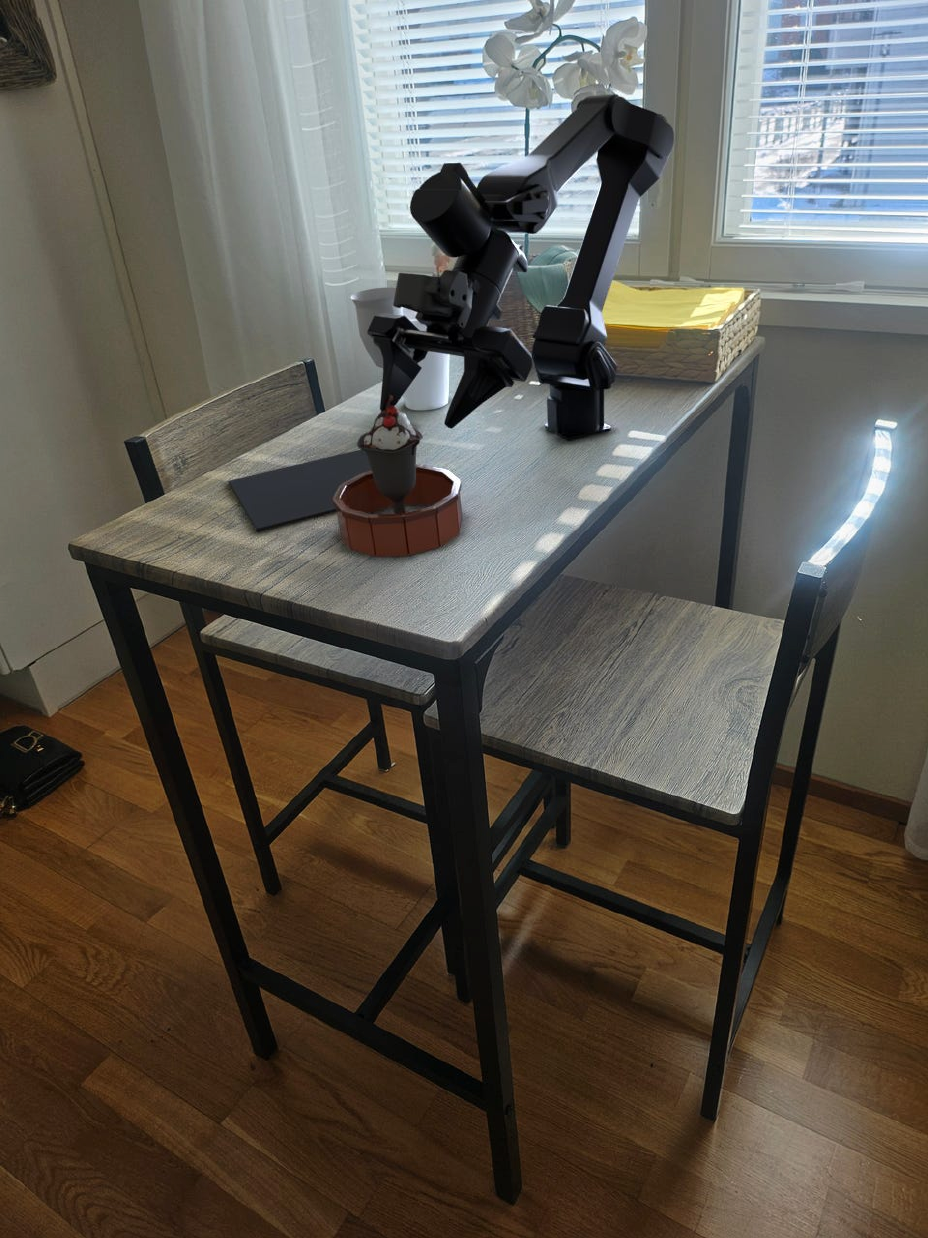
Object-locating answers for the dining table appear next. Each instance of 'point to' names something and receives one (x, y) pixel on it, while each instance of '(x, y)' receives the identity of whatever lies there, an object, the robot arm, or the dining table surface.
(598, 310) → the robot arm
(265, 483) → the placemat
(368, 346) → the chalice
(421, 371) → the foam cup
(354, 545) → the serving tub
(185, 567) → the dining table surface
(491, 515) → the dining table surface
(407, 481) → the sundae
